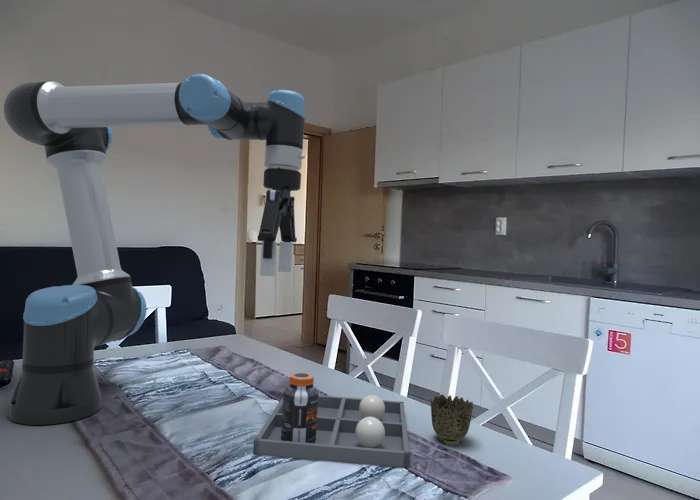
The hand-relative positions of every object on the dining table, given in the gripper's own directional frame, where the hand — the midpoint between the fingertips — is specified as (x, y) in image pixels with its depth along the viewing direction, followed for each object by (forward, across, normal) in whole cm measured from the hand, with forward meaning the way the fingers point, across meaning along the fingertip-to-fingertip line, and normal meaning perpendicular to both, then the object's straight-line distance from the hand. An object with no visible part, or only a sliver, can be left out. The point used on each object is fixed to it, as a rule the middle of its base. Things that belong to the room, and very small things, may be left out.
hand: (276, 273), depth 99 cm
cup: (+28, -10, -36) cm, 46 cm away
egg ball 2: (+27, -16, -22) cm, 38 cm away
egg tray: (+28, -10, -16) cm, 34 cm away
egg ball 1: (+27, -4, -21) cm, 34 cm away
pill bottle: (+27, -17, -10) cm, 33 cm away
